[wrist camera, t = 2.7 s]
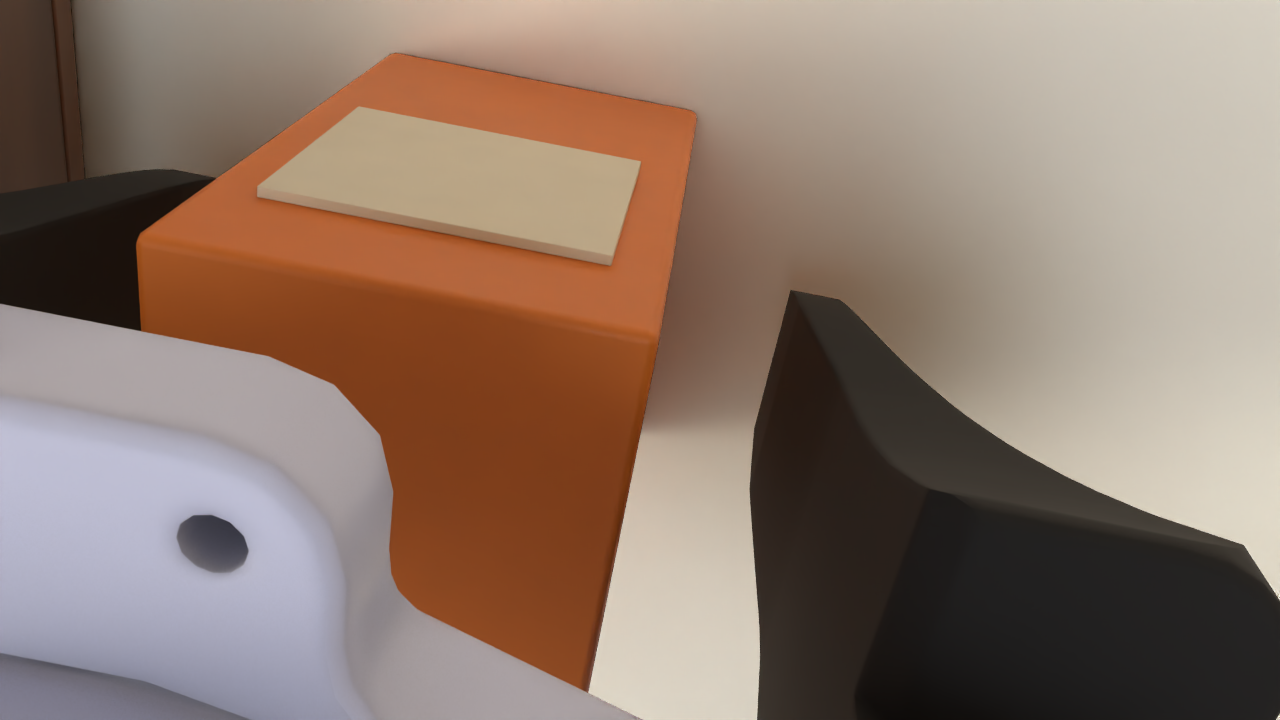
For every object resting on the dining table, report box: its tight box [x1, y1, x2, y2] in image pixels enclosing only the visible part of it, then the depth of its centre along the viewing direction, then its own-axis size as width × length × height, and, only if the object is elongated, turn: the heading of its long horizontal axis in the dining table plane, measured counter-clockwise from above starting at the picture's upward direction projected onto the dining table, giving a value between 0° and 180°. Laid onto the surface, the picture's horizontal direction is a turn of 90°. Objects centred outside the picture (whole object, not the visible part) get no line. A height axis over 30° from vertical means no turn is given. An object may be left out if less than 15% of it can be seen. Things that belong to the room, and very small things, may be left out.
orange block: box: [136, 53, 697, 693], centre depth 12 cm, size 4×5×6 cm
